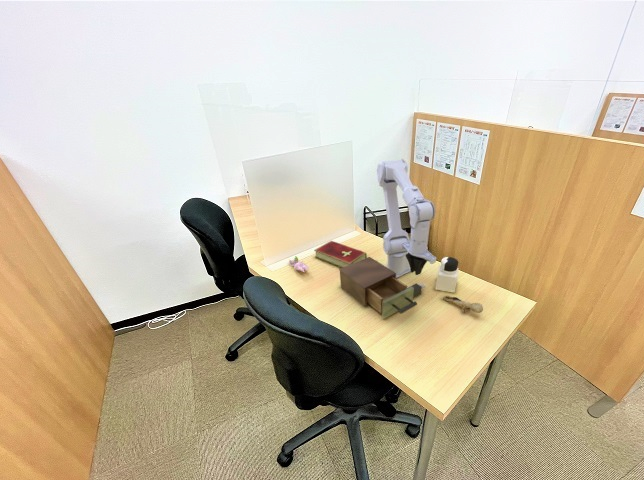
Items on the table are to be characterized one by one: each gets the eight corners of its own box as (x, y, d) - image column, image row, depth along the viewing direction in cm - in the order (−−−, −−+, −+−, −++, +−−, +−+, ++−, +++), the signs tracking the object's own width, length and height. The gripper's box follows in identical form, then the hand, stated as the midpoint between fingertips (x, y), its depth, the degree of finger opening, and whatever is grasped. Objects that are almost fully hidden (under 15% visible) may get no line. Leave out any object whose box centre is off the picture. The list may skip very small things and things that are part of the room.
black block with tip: (420, 287, 112) (421, 280, 110) (426, 291, 110) (427, 283, 108) (406, 295, 108) (406, 288, 107) (411, 299, 107) (412, 291, 105)
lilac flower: (287, 267, 130) (299, 277, 118) (283, 255, 127) (296, 264, 116) (299, 262, 133) (313, 272, 121) (296, 250, 130) (310, 259, 119)
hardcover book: (332, 247, 142) (331, 239, 139) (366, 259, 131) (366, 251, 128) (315, 257, 134) (314, 249, 132) (350, 271, 123) (349, 263, 121)
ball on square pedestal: (455, 282, 114) (460, 256, 107) (454, 293, 109) (459, 266, 102) (437, 279, 116) (441, 253, 109) (435, 289, 111) (439, 263, 104)
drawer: (422, 310, 100) (424, 294, 96) (394, 327, 94) (394, 311, 90) (385, 284, 113) (386, 270, 109) (358, 298, 106) (357, 283, 103)
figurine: (441, 305, 106) (479, 318, 95) (441, 294, 104) (479, 307, 93) (448, 301, 108) (485, 314, 97) (447, 290, 106) (485, 302, 95)
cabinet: (395, 291, 110) (396, 273, 106) (365, 307, 104) (364, 287, 99) (369, 274, 121) (369, 256, 116) (340, 287, 114) (339, 269, 109)
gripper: (444, 242, 92) (439, 277, 100) (411, 228, 102) (409, 261, 110) (429, 249, 89) (425, 285, 97) (397, 233, 99) (395, 267, 106)
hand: (415, 272), depth 103 cm, fingers closed
